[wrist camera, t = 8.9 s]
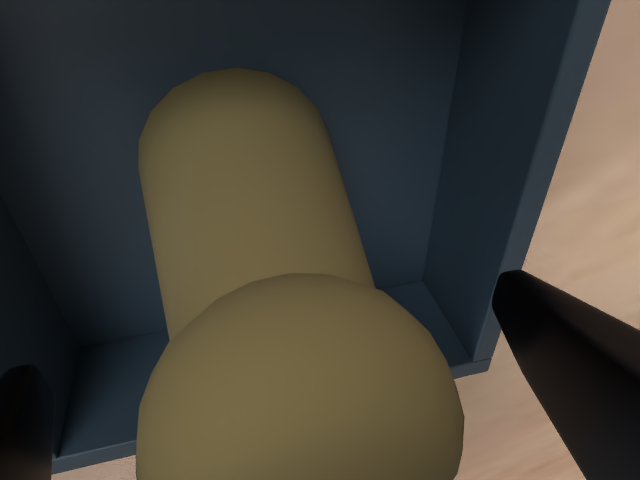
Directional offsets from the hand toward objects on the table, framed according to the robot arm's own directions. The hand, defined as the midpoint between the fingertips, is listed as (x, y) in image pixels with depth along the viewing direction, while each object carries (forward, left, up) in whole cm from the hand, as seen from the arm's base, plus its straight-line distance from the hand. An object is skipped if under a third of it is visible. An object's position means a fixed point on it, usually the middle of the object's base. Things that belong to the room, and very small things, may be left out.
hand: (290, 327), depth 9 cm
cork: (0, 0, -8) cm, 8 cm away
